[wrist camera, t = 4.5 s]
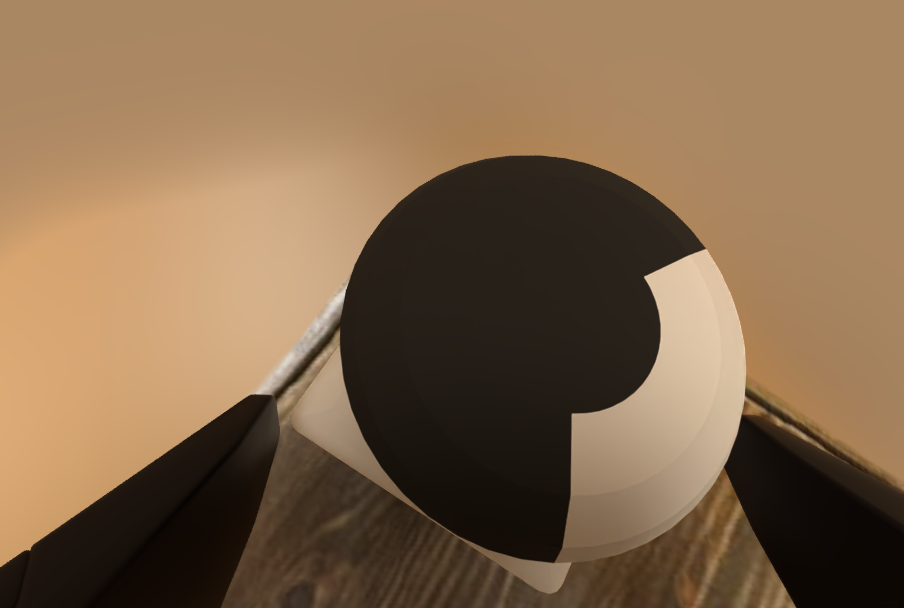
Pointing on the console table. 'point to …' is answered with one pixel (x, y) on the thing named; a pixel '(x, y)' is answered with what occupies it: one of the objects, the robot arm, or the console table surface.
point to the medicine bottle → (534, 364)
